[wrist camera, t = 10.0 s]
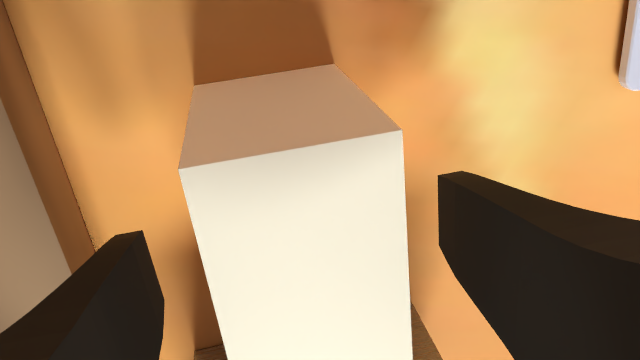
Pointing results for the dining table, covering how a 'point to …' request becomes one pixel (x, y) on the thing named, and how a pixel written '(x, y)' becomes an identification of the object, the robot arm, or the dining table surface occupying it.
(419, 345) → the stop block
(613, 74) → the dining table surface
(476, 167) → the dining table surface
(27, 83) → the walnut plank
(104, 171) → the dining table surface
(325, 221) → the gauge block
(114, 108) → the dining table surface
